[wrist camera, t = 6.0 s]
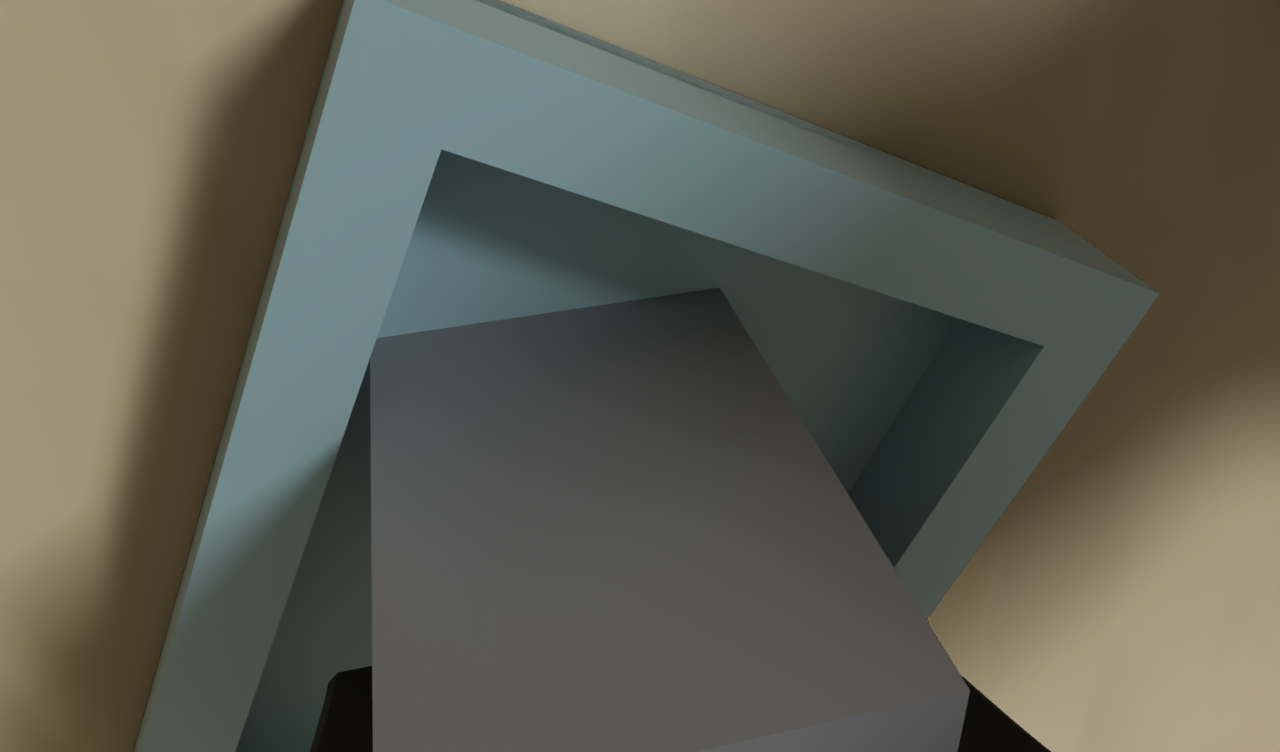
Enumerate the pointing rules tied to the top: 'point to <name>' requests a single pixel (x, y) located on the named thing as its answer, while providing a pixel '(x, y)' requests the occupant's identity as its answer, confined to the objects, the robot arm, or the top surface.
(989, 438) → the service tray
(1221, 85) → the top surface
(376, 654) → the block
